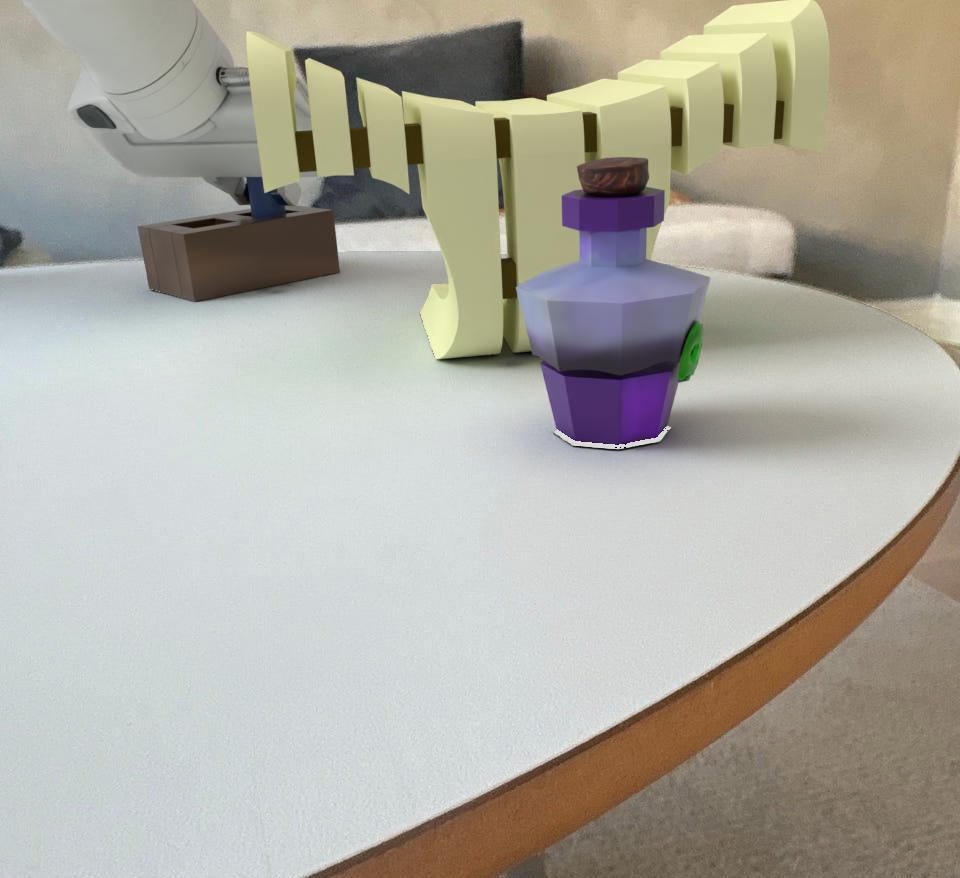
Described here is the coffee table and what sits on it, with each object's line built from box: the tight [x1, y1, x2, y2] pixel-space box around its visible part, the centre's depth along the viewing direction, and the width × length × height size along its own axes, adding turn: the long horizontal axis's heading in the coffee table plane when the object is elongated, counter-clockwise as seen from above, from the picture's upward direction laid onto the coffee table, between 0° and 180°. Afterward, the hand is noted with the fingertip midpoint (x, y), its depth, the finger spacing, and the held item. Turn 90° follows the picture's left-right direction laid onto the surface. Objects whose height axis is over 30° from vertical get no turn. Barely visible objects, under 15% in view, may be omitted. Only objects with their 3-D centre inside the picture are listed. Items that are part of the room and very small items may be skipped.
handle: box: [246, 177, 286, 218], centre depth 89 cm, size 3×3×11 cm
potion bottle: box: [516, 157, 711, 448], centre depth 49 cm, size 9×9×12 cm
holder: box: [137, 205, 341, 303], centre depth 89 cm, size 8×14×5 cm, turn 131°
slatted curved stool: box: [245, 0, 831, 360], centre depth 65 cm, size 30×16×18 cm, turn 97°
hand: (271, 198), depth 89 cm, fingers closed on handle, 3 cm apart
